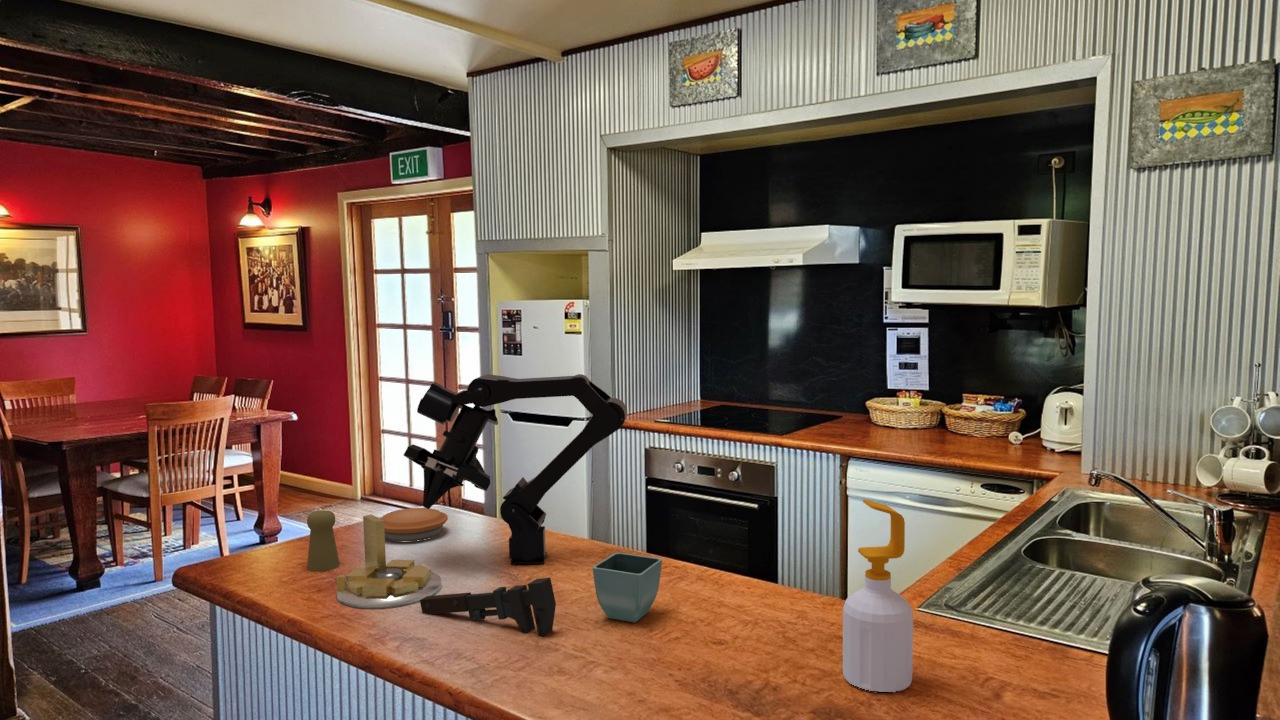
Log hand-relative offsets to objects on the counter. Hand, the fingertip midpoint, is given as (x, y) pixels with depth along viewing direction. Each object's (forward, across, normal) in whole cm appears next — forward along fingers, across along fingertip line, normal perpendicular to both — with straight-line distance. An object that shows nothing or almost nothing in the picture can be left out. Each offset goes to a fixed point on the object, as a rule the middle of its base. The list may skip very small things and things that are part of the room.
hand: (425, 507), depth 164 cm
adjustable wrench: (+14, -29, +6) cm, 32 cm away
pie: (+5, +20, -22) cm, 30 cm away
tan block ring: (+15, -3, +3) cm, 15 cm away
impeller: (+16, -4, +2) cm, 16 cm away
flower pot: (+3, -47, -4) cm, 47 cm away
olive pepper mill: (+18, +18, -2) cm, 25 cm away
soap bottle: (-2, -88, 0) cm, 88 cm away
